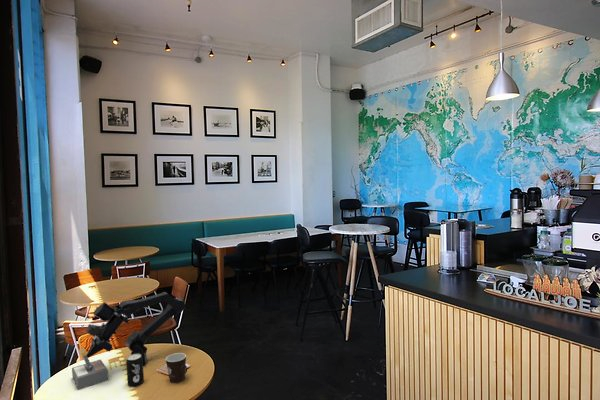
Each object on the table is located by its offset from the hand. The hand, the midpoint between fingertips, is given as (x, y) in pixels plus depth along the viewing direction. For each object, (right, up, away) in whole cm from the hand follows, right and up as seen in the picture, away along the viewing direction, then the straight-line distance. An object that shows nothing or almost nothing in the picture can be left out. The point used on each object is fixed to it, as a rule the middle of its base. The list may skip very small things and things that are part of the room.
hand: (87, 356), depth 181 cm
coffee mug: (+41, -9, -3) cm, 43 cm away
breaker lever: (+1, -4, +1) cm, 4 cm away
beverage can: (+23, -10, -4) cm, 26 cm away
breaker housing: (+1, -10, +1) cm, 11 cm away
